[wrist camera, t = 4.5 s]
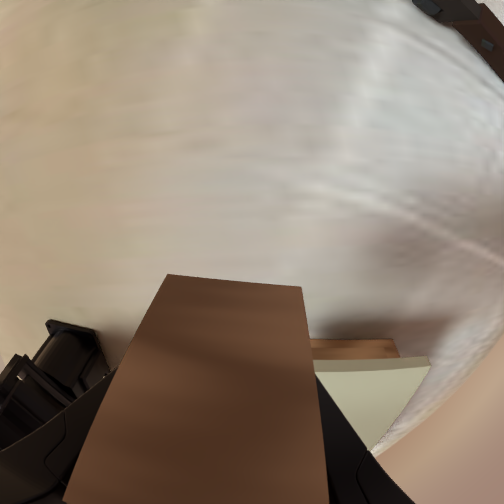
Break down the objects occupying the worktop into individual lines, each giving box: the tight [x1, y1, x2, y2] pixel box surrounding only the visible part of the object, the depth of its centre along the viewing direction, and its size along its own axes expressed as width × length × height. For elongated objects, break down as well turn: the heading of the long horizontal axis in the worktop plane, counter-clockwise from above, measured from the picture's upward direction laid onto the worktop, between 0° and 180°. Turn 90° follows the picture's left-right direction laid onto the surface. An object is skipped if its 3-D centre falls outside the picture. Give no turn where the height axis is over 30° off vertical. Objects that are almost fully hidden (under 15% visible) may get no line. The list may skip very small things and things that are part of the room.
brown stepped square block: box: [62, 274, 329, 504], centre depth 6 cm, size 4×4×8 cm
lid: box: [313, 356, 431, 451], centre depth 21 cm, size 12×25×3 cm, turn 177°
